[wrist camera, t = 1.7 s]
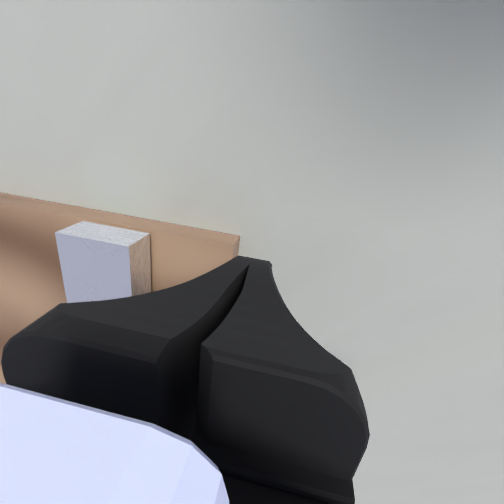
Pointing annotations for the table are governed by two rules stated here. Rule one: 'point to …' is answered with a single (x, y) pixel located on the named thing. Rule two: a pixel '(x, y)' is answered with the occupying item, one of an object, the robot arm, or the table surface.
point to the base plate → (48, 264)
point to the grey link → (103, 262)
